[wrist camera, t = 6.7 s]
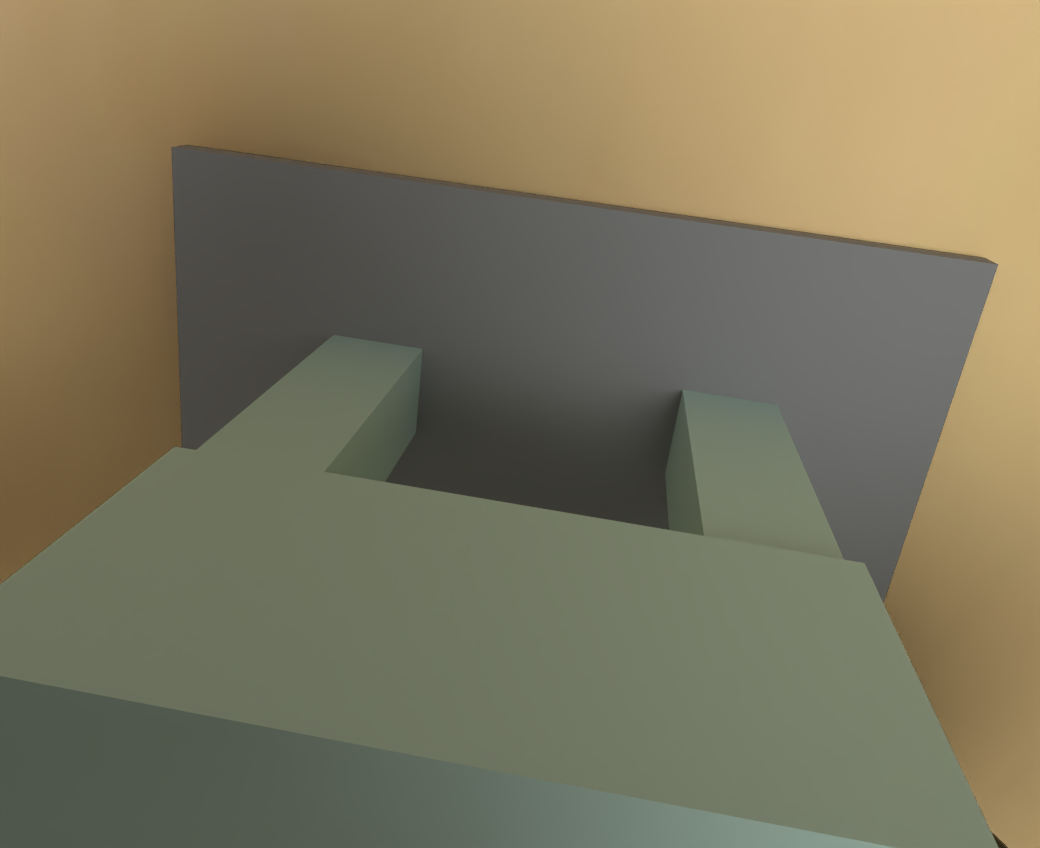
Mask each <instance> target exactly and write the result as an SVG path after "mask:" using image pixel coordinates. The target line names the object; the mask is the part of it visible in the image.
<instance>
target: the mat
mask: <svg viewBox="0 0 1040 848" xmlns="http://www.w3.org/2000/svg"><path fill="white" fill-rule="evenodd" d="M172 174H173V202H174V231H175V259H176V287H177V316H178V344H179V373H180V401H181V429H182V448H187V449H193V450H197V449H198V448H199V447H200V446H202V445H203V444H204V443H205V442H206V441H207V440H209V439H210V438H211V437H212V436H213V435H215V434H216V433H217V432H218V431H219V430H221V429H222V428H223V427H224V426H225V425H227V424H228V423H229V422H230V421H231V420H233V419H234V418H235V417H236V416H237V415H239V414H240V413H241V412H242V411H243V410H245V409H246V408H247V407H248V406H249V405H250V404H252V403H253V402H254V401H255V400H256V399H258V398H259V397H260V396H261V395H262V394H264V393H265V392H266V391H267V390H268V389H270V388H271V387H272V386H273V385H274V384H276V383H277V382H278V381H279V380H280V379H282V378H283V377H284V376H285V375H286V374H288V373H289V372H290V371H291V370H292V369H293V368H295V367H296V366H297V365H298V364H299V363H301V362H302V361H303V360H304V359H305V358H307V357H308V356H309V355H310V354H311V353H313V352H314V351H315V350H316V349H317V348H319V347H320V346H321V345H322V344H323V343H325V342H326V341H327V340H328V339H329V338H331V337H332V336H333V335H338V336H344V337H351V338H357V339H363V340H370V341H376V342H382V343H389V344H395V345H401V346H408V347H414V348H421V349H423V352H422V364H421V376H420V389H419V401H418V413H417V426H416V433H415V435H414V436H413V438H412V440H411V441H410V443H409V444H408V446H407V448H406V449H405V451H404V452H403V454H402V456H401V457H400V459H399V460H398V462H397V464H396V465H395V467H394V468H393V470H392V471H391V473H390V475H389V476H388V478H387V479H386V481H385V482H388V483H394V484H400V485H406V486H412V487H418V488H423V489H429V490H435V491H441V492H447V493H453V494H459V495H465V496H471V497H477V498H483V499H489V500H495V501H500V502H506V503H512V504H518V505H524V506H530V507H536V508H542V509H548V510H554V511H560V512H566V513H571V514H577V515H583V516H589V517H595V518H601V519H607V520H613V521H619V522H625V523H631V524H637V525H643V526H648V527H654V528H660V529H666V530H669V520H668V506H667V492H666V478H665V472H666V467H667V462H668V458H669V453H670V448H671V443H672V438H673V434H674V429H675V424H676V419H677V414H678V410H679V405H680V400H681V395H682V390H688V391H694V392H701V393H707V394H713V395H720V396H726V397H733V398H739V399H745V400H752V401H758V402H764V403H771V404H777V405H778V408H779V410H780V412H781V415H782V417H783V419H784V422H785V424H786V426H787V429H788V431H789V433H790V435H791V438H792V440H793V442H794V445H795V447H796V449H797V452H798V454H799V456H800V459H801V461H802V463H803V466H804V468H805V470H806V473H807V475H808V477H809V479H810V482H811V484H812V486H813V489H814V491H815V493H816V496H817V498H818V500H819V503H820V505H821V507H822V510H823V512H824V514H825V517H826V519H827V521H828V523H829V526H830V528H831V530H832V533H833V535H834V537H835V540H836V542H837V544H838V547H839V549H840V551H841V554H842V556H843V558H844V560H850V561H856V562H862V563H865V565H866V567H867V569H868V572H869V574H870V576H871V578H872V580H873V582H874V584H875V586H876V588H877V591H878V593H879V595H880V597H881V599H882V601H883V603H884V600H885V597H886V594H887V591H888V588H889V585H890V582H891V579H892V576H893V573H894V570H895V567H896V564H897V561H898V558H899V555H900V552H901V549H902V547H903V544H904V541H905V538H906V535H907V532H908V529H909V526H910V523H911V520H912V517H913V514H914V511H915V508H916V505H917V502H918V499H919V496H920V493H921V490H922V488H923V485H924V482H925V479H926V476H927V473H928V470H929V467H930V464H931V461H932V458H933V455H934V452H935V449H936V446H937V443H938V440H939V437H940V434H941V431H942V429H943V426H944V423H945V420H946V417H947V414H948V411H949V408H950V405H951V402H952V399H953V396H954V393H955V390H956V387H957V384H958V381H959V378H960V375H961V373H962V370H963V367H964V364H965V361H966V358H967V355H968V352H969V349H970V346H971V343H972V340H973V337H974V334H975V331H976V328H977V325H978V322H979V319H980V316H981V314H982V311H983V308H984V305H985V302H986V299H987V296H988V293H989V290H990V287H991V284H992V281H993V278H994V275H995V272H996V269H997V266H998V264H996V263H994V262H992V261H990V260H988V259H986V258H981V257H974V256H967V255H960V254H953V253H946V252H939V251H932V250H925V249H918V248H911V247H904V246H897V245H889V244H882V243H875V242H868V241H861V240H854V239H847V238H840V237H833V236H826V235H819V234H812V233H805V232H798V231H791V230H784V229H777V228H770V227H762V226H755V225H748V224H741V223H734V222H727V221H720V220H713V219H706V218H699V217H692V216H685V215H678V214H671V213H664V212H657V211H650V210H643V209H635V208H628V207H621V206H614V205H607V204H600V203H593V202H586V201H579V200H572V199H565V198H558V197H551V196H544V195H537V194H530V193H523V192H515V191H508V190H501V189H494V188H487V187H480V186H473V185H466V184H459V183H452V182H445V181H438V180H431V179H424V178H417V177H410V176H403V175H396V174H388V173H381V172H374V171H367V170H360V169H353V168H346V167H339V166H332V165H325V164H318V163H311V162H304V161H297V160H290V159H283V158H276V157H269V156H261V155H254V154H247V153H240V152H233V151H226V150H219V149H212V148H205V147H198V146H191V145H184V146H177V147H172Z"/></svg>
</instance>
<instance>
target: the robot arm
mask: <svg viewBox="0 0 1040 848" xmlns="http://www.w3.org/2000/svg"><path fill="white" fill-rule="evenodd" d="M991 833H992V832H991ZM992 835H993V837H994V839H995V841H996V843H997V845H998V847H999V848H1008V847H1007V846H1006V845H1005V844H1004V843H1003V842H1002V841H1001V840H1000V839H999V838H998V837H997V836H995V835H994V834H993V833H992Z"/></svg>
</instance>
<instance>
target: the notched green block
mask: <svg viewBox="0 0 1040 848" xmlns="http://www.w3.org/2000/svg"><path fill="white" fill-rule="evenodd" d="M422 352H423V349H421V348H414V347H408V346H401V345H395V344H389V343H382V342H376V341H370V340H363V339H357V338H351V337H344V336H338V335H333V336H332V337H331V338H329V339H328V340H327V341H326V342H325V343H323V344H322V345H321V346H320V347H319V348H317V349H316V350H315V351H314V352H313V353H311V354H310V355H309V356H308V357H307V358H305V359H304V360H303V361H302V362H301V363H299V364H298V365H297V366H296V367H295V368H293V369H292V370H291V371H290V372H289V373H288V374H286V375H285V376H284V377H283V378H282V379H280V380H279V381H278V382H277V383H276V384H274V385H273V386H272V387H271V388H270V389H268V390H267V391H266V392H265V393H264V394H262V395H261V396H260V397H259V398H258V399H256V400H255V401H254V402H253V403H252V404H250V405H249V406H248V407H247V408H246V409H245V410H243V411H242V412H241V413H240V414H239V415H237V416H236V417H235V418H234V419H233V420H231V421H230V422H229V423H228V424H227V425H225V426H224V427H223V428H222V429H221V430H219V431H218V432H217V433H216V434H215V435H213V436H212V437H211V438H210V439H209V440H207V441H206V442H205V443H204V444H203V445H202V446H200V447H199V448H198V449H197V450H193V449H187V448H181V447H173V448H172V449H171V450H170V451H168V452H167V453H166V454H165V455H163V456H162V457H161V458H160V459H158V460H157V461H156V462H154V463H153V464H152V465H151V466H149V467H148V468H147V469H146V470H144V471H143V472H142V473H141V474H139V475H138V476H137V477H136V478H134V479H133V480H132V481H130V482H129V483H128V484H127V485H125V486H124V487H123V488H122V489H120V490H119V491H118V492H117V493H115V494H114V495H113V496H111V497H110V498H109V499H108V500H106V501H105V502H104V503H103V504H101V505H100V506H99V507H98V508H96V509H95V510H94V511H93V512H91V513H90V514H89V515H87V516H86V517H85V518H84V519H82V520H81V521H80V522H79V523H77V524H76V525H75V526H74V527H72V528H71V529H70V530H69V531H67V532H66V533H65V534H63V535H62V536H61V537H60V538H58V539H57V540H56V541H55V542H53V543H52V544H51V545H50V546H48V547H47V548H46V549H44V550H43V551H42V552H41V553H39V554H38V555H37V556H36V557H34V558H33V559H32V560H31V561H29V562H28V563H27V564H26V565H24V566H23V567H22V568H20V569H19V570H18V571H17V572H15V573H14V574H13V575H12V576H10V577H9V578H8V579H7V580H5V581H4V582H3V583H1V584H0V848H999V847H998V845H997V843H996V841H995V839H994V837H993V835H992V833H991V830H990V828H989V826H988V824H987V822H986V820H985V818H984V816H983V813H982V811H981V809H980V807H979V805H978V803H977V801H976V799H975V797H974V794H973V792H972V790H971V788H970V786H969V784H968V782H967V780H966V777H965V775H964V773H963V771H962V769H961V767H960V765H959V763H958V760H957V758H956V756H955V754H954V752H953V750H952V748H951V746H950V743H949V741H948V739H947V737H946V735H945V733H944V731H943V729H942V726H941V724H940V722H939V720H938V718H937V716H936V714H935V712H934V709H933V707H932V705H931V703H930V701H929V699H928V697H927V695H926V693H925V690H924V688H923V686H922V684H921V682H920V680H919V678H918V676H917V673H916V671H915V669H914V667H913V665H912V663H911V661H910V659H909V656H908V654H907V652H906V650H905V648H904V646H903V644H902V642H901V639H900V637H899V635H898V633H897V631H896V629H895V627H894V625H893V622H892V620H891V618H890V616H889V614H888V612H887V610H886V608H885V605H884V603H883V601H882V599H881V597H880V595H879V593H878V591H877V588H876V586H875V584H874V582H873V580H872V578H871V576H870V574H869V572H868V569H867V567H866V565H865V563H862V562H856V561H850V560H844V558H843V556H842V554H841V551H840V549H839V547H838V544H837V542H836V540H835V537H834V535H833V533H832V530H831V528H830V526H829V523H828V521H827V519H826V517H825V514H824V512H823V510H822V507H821V505H820V503H819V500H818V498H817V496H816V493H815V491H814V489H813V486H812V484H811V482H810V479H809V477H808V475H807V473H806V470H805V468H804V466H803V463H802V461H801V459H800V456H799V454H798V452H797V449H796V447H795V445H794V442H793V440H792V438H791V435H790V433H789V431H788V429H787V426H786V424H785V422H784V419H783V417H782V415H781V412H780V410H779V408H778V405H777V404H771V403H764V402H758V401H752V400H745V399H739V398H733V397H726V396H720V395H713V394H707V393H701V392H694V391H688V390H682V395H681V400H680V405H679V410H678V414H677V419H676V424H675V429H674V434H673V438H672V443H671V448H670V453H669V458H668V462H667V467H666V472H665V478H666V492H667V506H668V520H669V530H666V529H660V528H654V527H648V526H643V525H637V524H631V523H625V522H619V521H613V520H607V519H601V518H595V517H589V516H583V515H577V514H571V513H566V512H560V511H554V510H548V509H542V508H536V507H530V506H524V505H518V504H512V503H506V502H500V501H495V500H489V499H483V498H477V497H471V496H465V495H459V494H453V493H447V492H441V491H435V490H429V489H423V488H418V487H412V486H406V485H400V484H394V483H388V482H385V481H386V479H387V478H388V476H389V475H390V473H391V471H392V470H393V468H394V467H395V465H396V464H397V462H398V460H399V459H400V457H401V456H402V454H403V452H404V451H405V449H406V448H407V446H408V444H409V443H410V441H411V440H412V438H413V436H414V435H415V433H416V426H417V413H418V401H419V389H420V376H421V364H422Z"/></svg>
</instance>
